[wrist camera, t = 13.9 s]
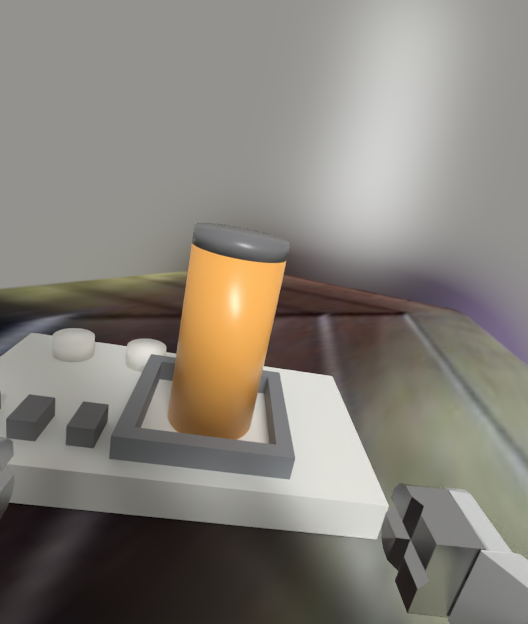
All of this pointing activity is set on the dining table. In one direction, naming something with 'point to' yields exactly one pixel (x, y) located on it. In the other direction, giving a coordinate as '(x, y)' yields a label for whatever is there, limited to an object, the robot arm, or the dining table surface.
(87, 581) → the dining table surface
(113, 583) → the dining table surface
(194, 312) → the orange capped cylinder
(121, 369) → the board
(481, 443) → the dining table surface
